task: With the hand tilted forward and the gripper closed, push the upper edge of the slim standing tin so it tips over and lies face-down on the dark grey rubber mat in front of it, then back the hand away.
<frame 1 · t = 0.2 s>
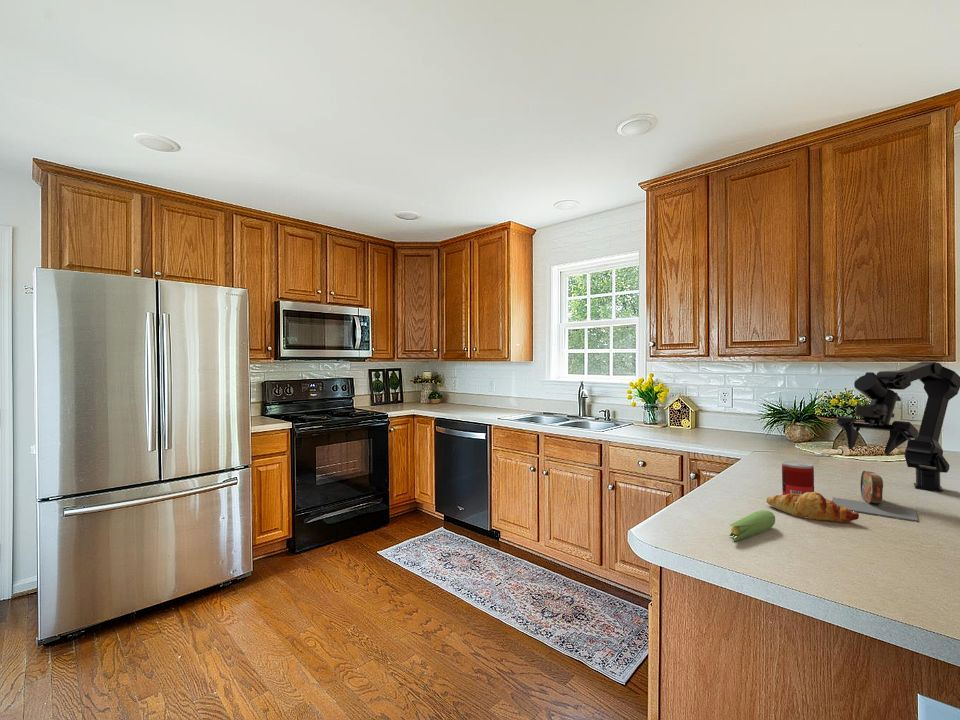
hand: (867, 451, 136), 14 cm above the table, tool tilted 30°, fingers open, 9 cm apart
tin: (871, 501, 133), on the table, touching mat
canned food: (798, 500, 137), on the table
mat: (872, 509, 127), on the table
edible corn: (749, 535, 110), on the table
croissant: (809, 516, 123), on the table
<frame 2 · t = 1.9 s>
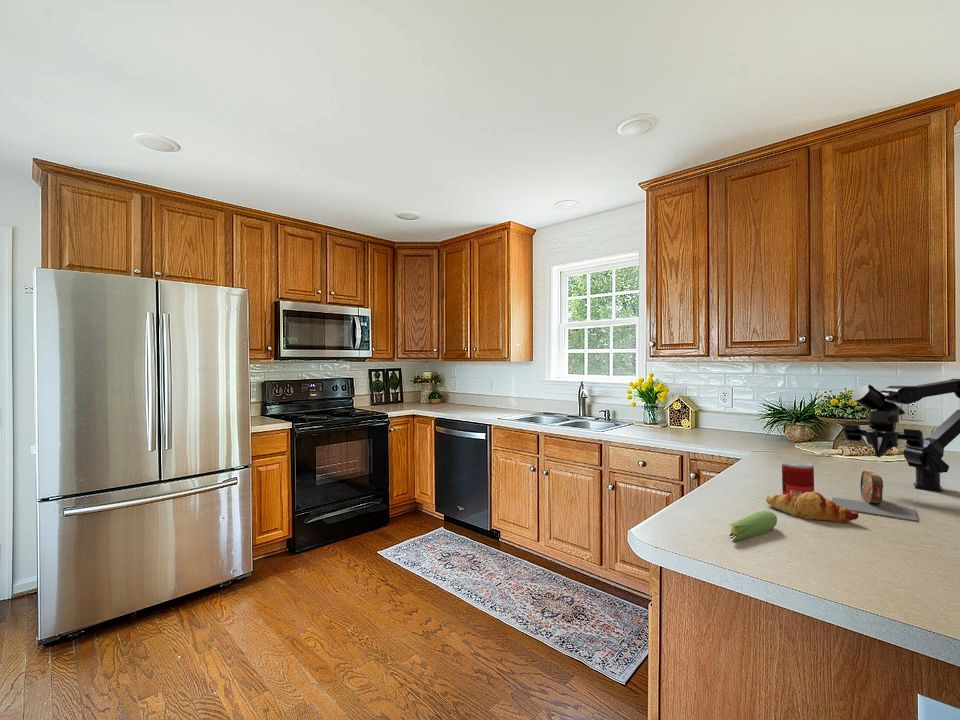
hand: (877, 456, 139), 12 cm above the table, tool tilted 45°, fingers closed
nothing on the table moved.
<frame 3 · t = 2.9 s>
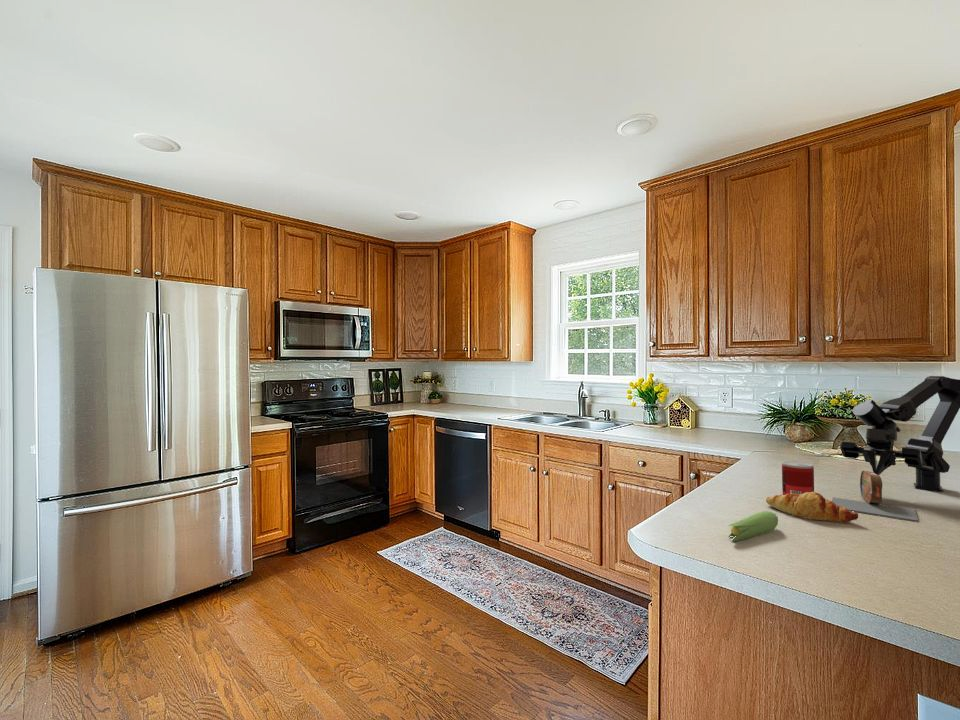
hand: (875, 475, 136), 7 cm above the table, tool tilted 45°, fingers closed
tin: (871, 501, 133), on the table, touching mat
everything else where it was.
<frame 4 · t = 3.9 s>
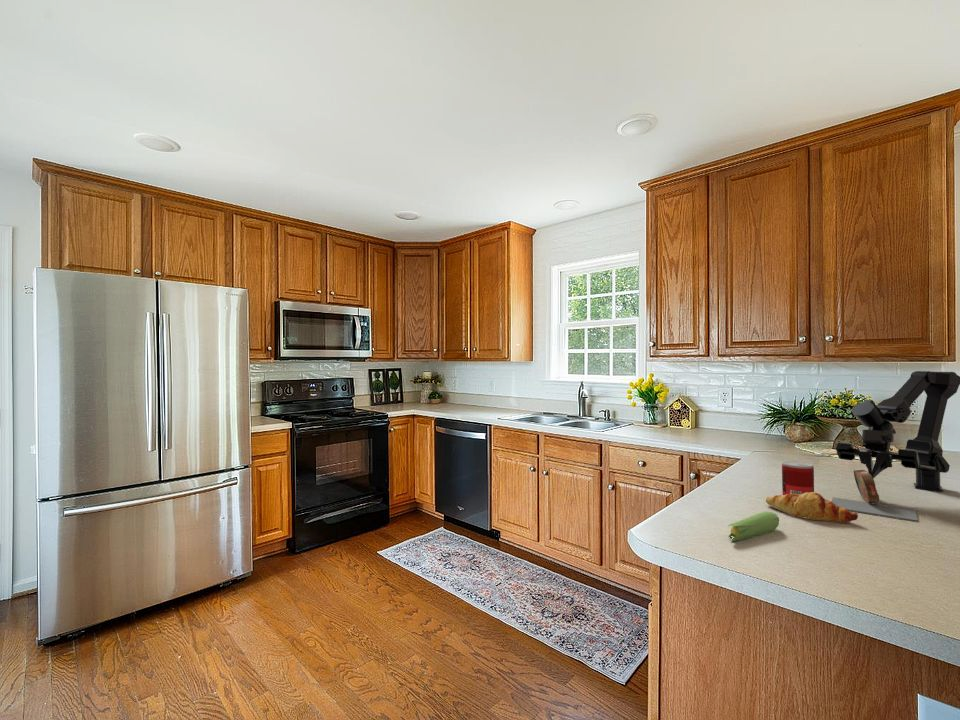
hand: (871, 477, 133), 7 cm above the table, tool tilted 45°, fingers closed
tin: (871, 500, 133), point 1 cm above the table, touching mat
everything else where it was.
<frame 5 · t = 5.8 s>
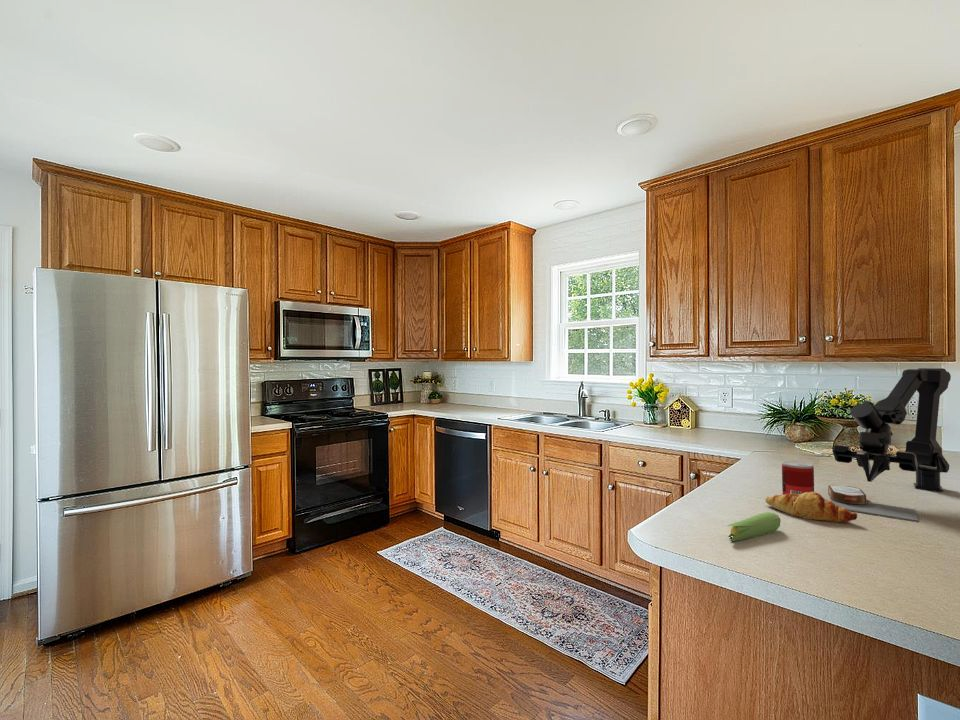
hand: (869, 480, 130), 7 cm above the table, tool tilted 45°, fingers closed
tin: (864, 494, 134), point 2 cm above the table, touching mat
everything else where it was.
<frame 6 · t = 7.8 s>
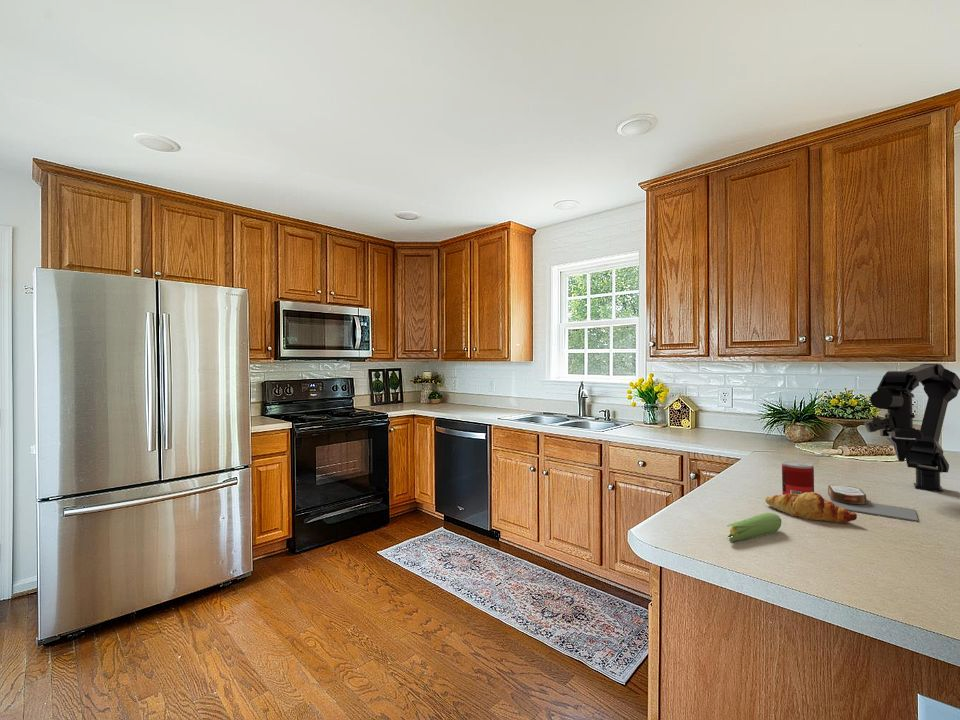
hand: (901, 461, 139), 11 cm above the table, tool pointing down, fingers closed
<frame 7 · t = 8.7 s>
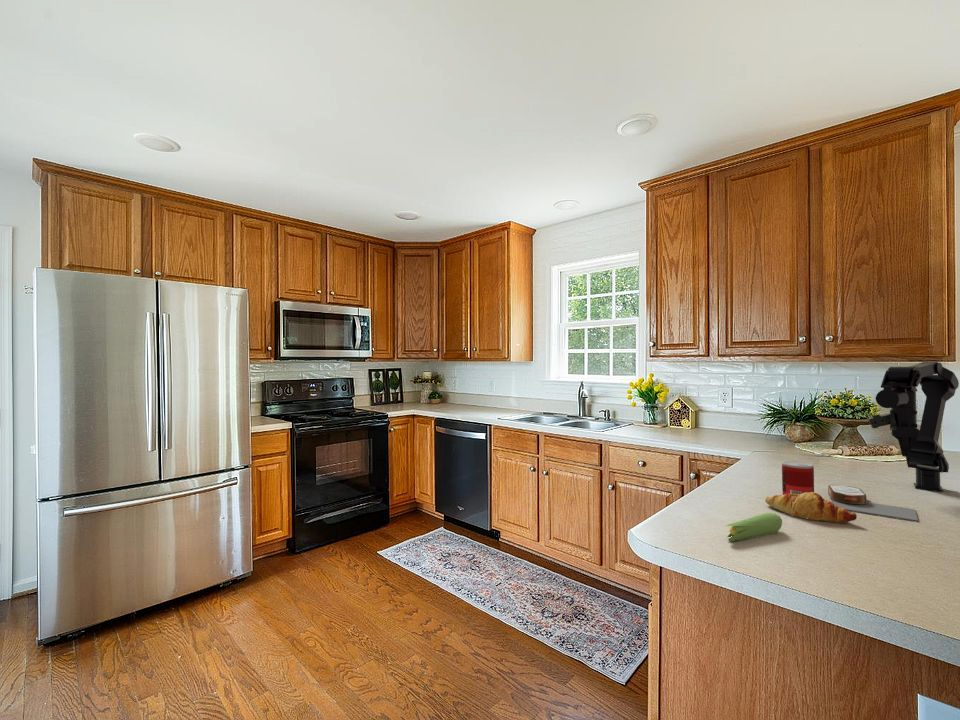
hand: (904, 456, 140), 12 cm above the table, tool pointing down, fingers closed
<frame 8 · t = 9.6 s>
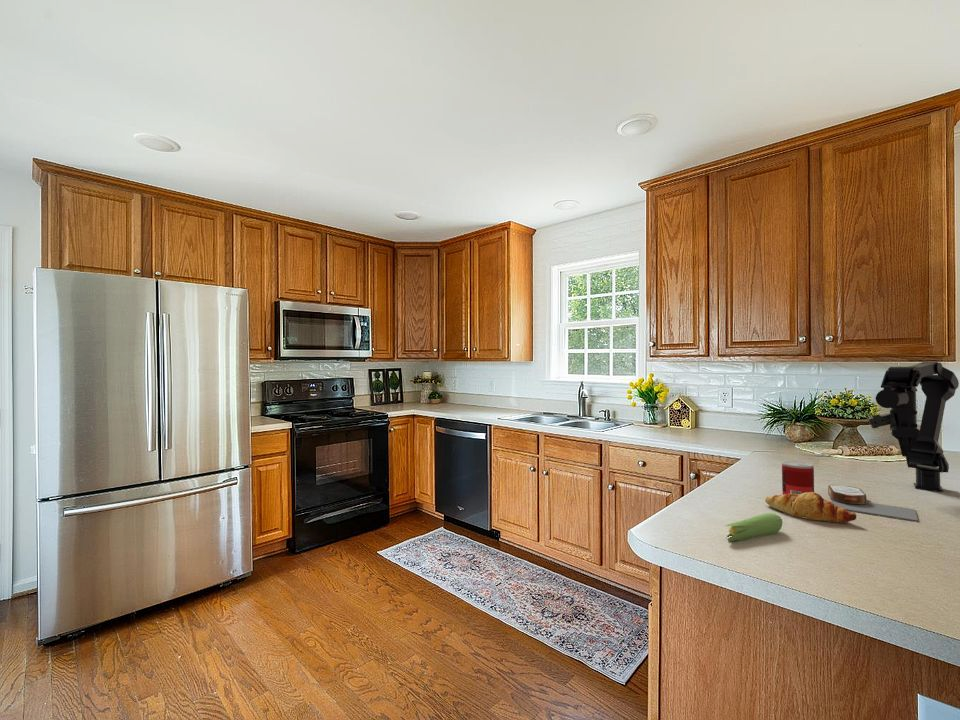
hand: (904, 456, 140), 12 cm above the table, tool pointing down, fingers closed
at the end: tin tilted 94°; tin touching mat, table; tin inside the target area (4.1 cm from its centre), point 1.9 cm above the table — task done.
